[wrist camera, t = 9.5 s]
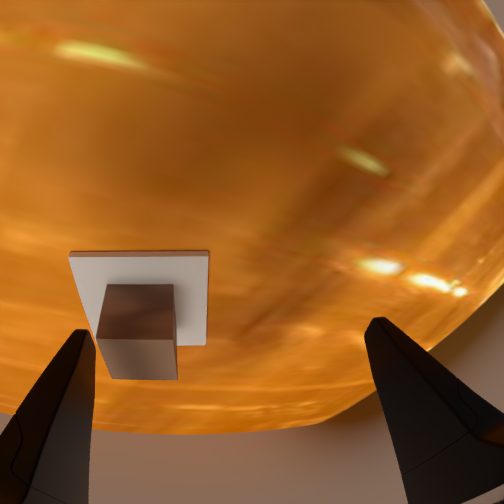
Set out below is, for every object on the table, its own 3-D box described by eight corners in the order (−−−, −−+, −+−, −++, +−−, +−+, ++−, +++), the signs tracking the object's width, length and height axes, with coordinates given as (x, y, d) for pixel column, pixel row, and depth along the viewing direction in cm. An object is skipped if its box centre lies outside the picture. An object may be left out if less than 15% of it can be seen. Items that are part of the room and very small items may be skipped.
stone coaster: (208, 250, 22) (208, 256, 22) (205, 339, 28) (205, 344, 28) (70, 251, 20) (68, 257, 20) (98, 339, 26) (97, 344, 26)
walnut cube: (173, 284, 23) (172, 339, 19) (176, 327, 26) (177, 379, 22) (107, 284, 22) (95, 338, 18) (118, 327, 25) (112, 378, 21)
